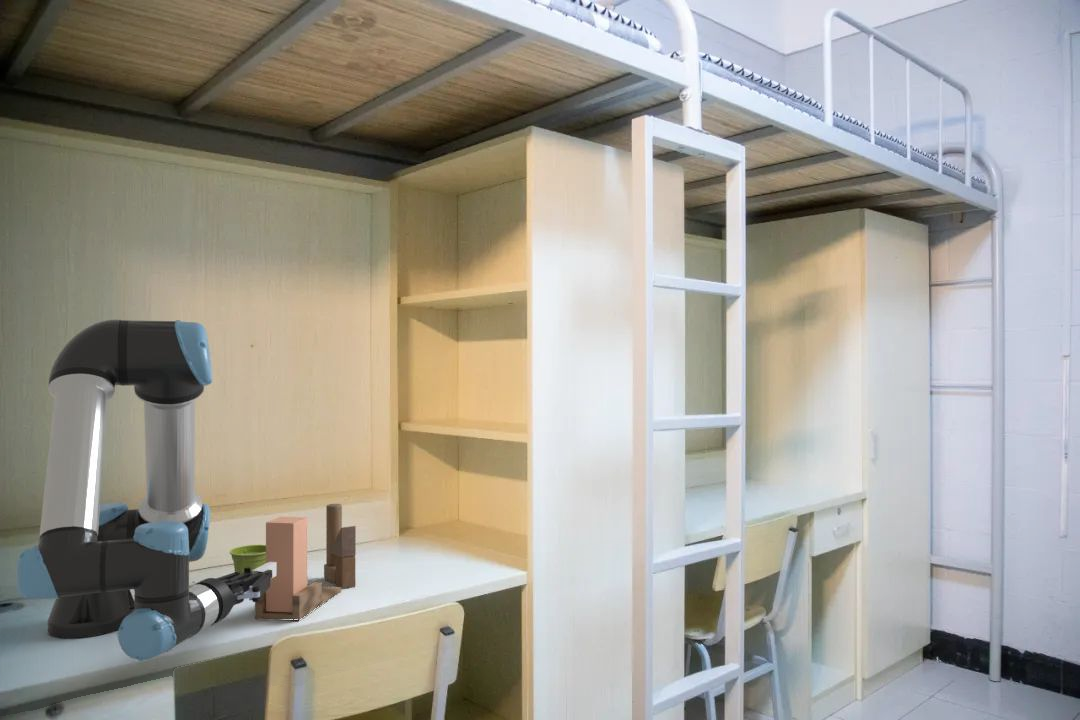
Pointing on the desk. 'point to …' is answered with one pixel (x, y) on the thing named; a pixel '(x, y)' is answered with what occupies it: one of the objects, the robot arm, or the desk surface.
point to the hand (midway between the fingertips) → (272, 568)
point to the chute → (298, 602)
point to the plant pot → (248, 557)
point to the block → (286, 561)
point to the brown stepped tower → (339, 549)
